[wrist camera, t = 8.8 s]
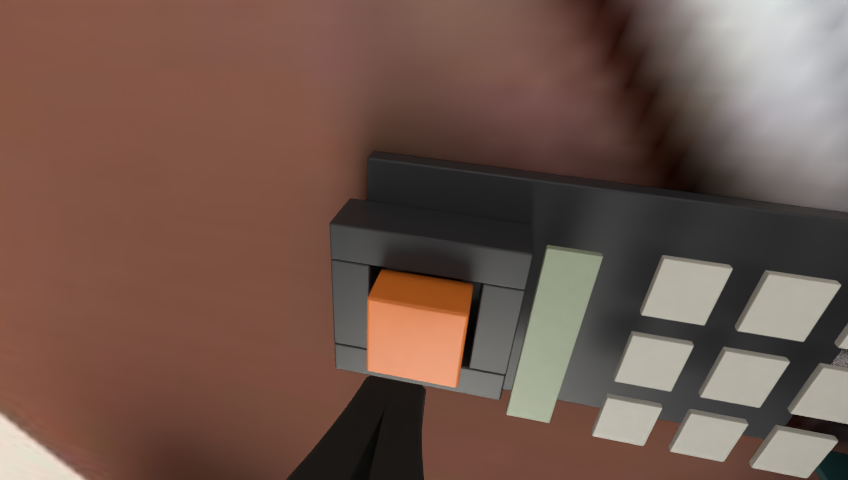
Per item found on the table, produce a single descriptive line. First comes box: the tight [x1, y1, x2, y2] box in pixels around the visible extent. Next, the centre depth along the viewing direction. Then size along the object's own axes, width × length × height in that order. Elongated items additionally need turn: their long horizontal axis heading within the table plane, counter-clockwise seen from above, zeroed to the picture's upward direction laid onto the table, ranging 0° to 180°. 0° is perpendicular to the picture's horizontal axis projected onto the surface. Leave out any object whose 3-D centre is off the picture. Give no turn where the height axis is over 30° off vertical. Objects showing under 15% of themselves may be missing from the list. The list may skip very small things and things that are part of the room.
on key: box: [367, 269, 473, 388], centre depth 13 cm, size 3×3×2 cm
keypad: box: [506, 245, 848, 478], centre depth 12 cm, size 7×9×1 cm
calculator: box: [330, 151, 848, 439], centre depth 14 cm, size 16×8×2 cm, turn 86°
